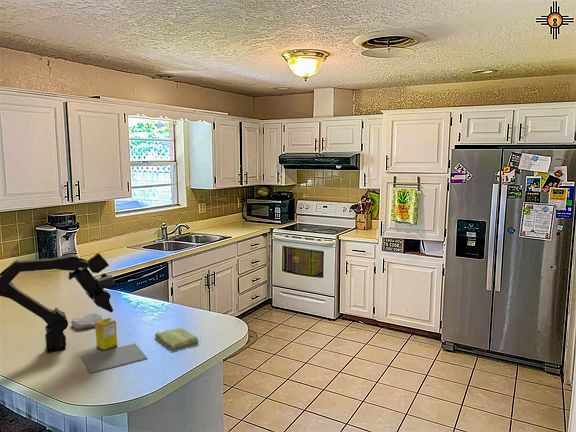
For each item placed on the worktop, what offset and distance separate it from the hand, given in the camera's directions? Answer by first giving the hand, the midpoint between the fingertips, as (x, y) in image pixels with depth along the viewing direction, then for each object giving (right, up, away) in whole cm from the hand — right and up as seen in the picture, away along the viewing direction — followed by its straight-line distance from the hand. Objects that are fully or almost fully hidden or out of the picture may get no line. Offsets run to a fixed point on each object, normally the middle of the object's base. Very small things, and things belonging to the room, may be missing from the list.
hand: (109, 308), depth 182 cm
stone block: (-16, -11, +16) cm, 25 cm away
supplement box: (+2, -14, -8) cm, 16 cm away
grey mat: (+9, -15, -17) cm, 25 cm away
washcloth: (+28, -13, -1) cm, 31 cm away
